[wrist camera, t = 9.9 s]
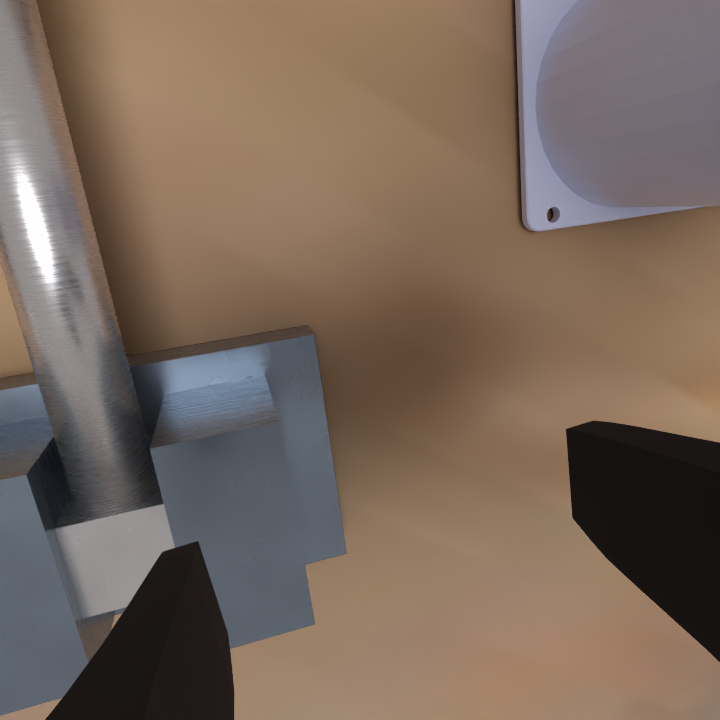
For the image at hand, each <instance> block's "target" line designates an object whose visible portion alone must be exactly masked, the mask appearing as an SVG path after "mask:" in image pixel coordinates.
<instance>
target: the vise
mask: <svg viewBox="0 0 720 720" xmlns="http://www.w3.org/2000/svg"><path fill="white" fill-rule="evenodd" d="M0 262H1V266H2V269H3V272H4V275H5V279H6V282H7V285H8V288H9V292H10V295H11V298H12V301H13V305H14V308H15V311H16V314H17V318H18V321H19V324H20V327H21V331H22V334H23V337H24V340H25V344H26V347H27V350H28V353H29V357H30V360H31V363H32V366H33V370H34V373H29V374H23V375H17V376H11V377H6V378H0V715H4V714H7V713H11V712H14V711H18V710H21V709H25V708H28V707H31V706H35V705H38V704H42V703H45V702H49V701H52V700H56V699H59V698H62V697H64V695H65V694H66V693H67V691H68V690H69V689H70V687H71V686H72V685H73V683H74V682H75V680H76V679H77V678H78V676H79V675H80V674H81V672H82V671H83V670H84V668H85V667H86V665H87V664H88V663H89V661H90V660H91V659H92V657H93V656H94V655H95V653H96V652H97V650H98V649H99V648H100V646H101V645H102V644H103V642H104V641H105V639H106V638H107V636H108V635H109V633H110V632H111V628H112V624H113V619H114V615H117V614H121V613H123V612H124V611H125V609H126V607H127V606H128V604H129V603H130V601H131V600H132V598H133V597H134V595H135V593H136V592H137V590H138V589H139V587H140V585H141V584H142V582H143V581H144V579H145V578H146V576H147V574H148V573H149V571H150V570H151V568H152V567H153V565H154V564H155V562H156V561H157V559H158V558H159V556H160V555H161V553H162V552H163V551H166V550H170V549H173V548H176V547H179V546H183V545H186V544H189V543H193V542H196V541H198V542H199V545H200V548H201V551H202V554H203V557H204V560H205V563H206V566H207V570H208V573H209V576H210V579H211V582H212V585H213V588H214V591H215V594H216V598H217V601H218V604H219V607H220V610H221V613H222V616H223V619H224V622H225V626H226V629H227V632H228V636H229V645H230V649H231V648H235V647H238V646H242V645H245V644H249V643H252V642H255V641H259V640H262V639H266V638H269V637H273V636H276V635H280V634H283V633H286V632H290V631H293V630H297V629H300V628H304V627H307V626H311V625H314V624H315V620H314V615H313V609H312V603H311V598H310V592H309V586H308V580H307V575H306V569H305V564H309V563H313V562H317V561H320V560H324V559H328V558H332V557H335V556H339V555H343V554H347V553H346V546H345V539H344V532H343V526H342V519H341V512H340V505H339V499H338V492H337V485H336V478H335V472H334V465H333V458H332V451H331V445H330V438H329V431H328V424H327V418H326V411H325V404H324V397H323V391H322V384H321V377H320V370H319V364H318V357H317V350H316V343H315V337H314V334H313V333H312V331H311V330H310V329H309V328H308V327H307V325H306V326H300V327H294V328H289V329H283V330H277V331H271V332H266V333H260V334H254V335H248V336H242V337H237V338H231V339H225V340H219V341H214V342H208V343H202V344H196V345H190V346H185V347H179V348H173V349H167V350H162V351H156V352H150V353H144V354H138V355H133V356H126V352H125V348H124V344H123V340H122V336H121V332H120V328H119V325H118V321H117V317H116V313H115V309H114V305H113V301H112V297H111V293H110V289H109V285H108V281H107V277H106V273H105V269H104V265H103V262H102V258H101V254H100V250H99V246H98V242H97V238H96V234H95V230H94V226H93V222H92V218H91V214H90V210H89V206H88V202H87V199H86V195H85V191H84V187H83V183H82V179H81V175H80V171H79V167H78V163H77V159H76V155H75V151H74V147H73V143H72V139H71V135H70V132H69V128H68V124H67V120H66V116H65V112H64V108H63V104H62V100H61V96H60V92H59V88H58V84H57V80H56V76H55V72H54V69H53V65H52V61H51V57H50V53H49V49H48V45H47V41H46V37H45V33H44V29H43V25H42V21H41V17H40V13H39V9H38V5H37V2H36V0H0Z"/></svg>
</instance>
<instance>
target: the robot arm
mask: <svg viewBox="0 0 720 720" xmlns="http://www.w3.org/2000/svg"><path fill="white" fill-rule="evenodd" d="M515 10H516V41H517V72H518V104H519V135H520V166H521V197H522V220H523V224H524V226H525V227H526V228H527V229H528V230H530V231H546V230H553V229H559V228H566V227H573V226H579V225H586V224H593V223H599V222H606V221H613V220H619V219H626V218H633V217H639V216H646V215H653V214H659V213H666V212H673V211H679V210H686V209H692V208H699V207H706V206H720V0H515ZM550 208H551V209H552V210H553V213H554V214H553V218H552V220H551V221H548V220H547V211H548V210H549V209H550ZM566 435H567V448H568V462H569V475H570V489H571V503H572V516H573V519H574V520H575V521H576V522H577V524H578V525H579V526H580V527H581V529H582V530H583V531H584V532H585V534H586V535H587V536H588V537H589V539H590V540H591V541H592V542H593V543H594V544H595V545H596V547H597V548H598V549H599V550H600V551H601V552H602V553H603V555H604V556H605V557H606V558H607V559H608V560H609V561H610V562H611V563H612V564H613V565H614V566H615V567H616V568H618V569H619V570H620V571H621V572H622V573H623V574H624V575H625V576H626V577H627V578H628V579H629V580H631V581H632V582H633V583H634V584H635V585H636V586H637V587H638V588H639V589H640V590H641V591H643V592H644V593H645V594H646V595H647V596H648V597H649V598H650V599H651V600H653V601H654V602H655V603H656V604H657V605H658V606H659V607H660V608H661V609H663V610H664V611H665V612H666V613H667V614H668V615H669V616H670V617H671V618H672V619H674V620H675V621H676V622H677V623H678V624H679V625H680V626H681V627H682V628H684V629H685V630H686V631H687V632H688V633H689V634H690V635H691V636H692V637H693V638H695V639H696V640H697V641H698V642H699V643H700V644H701V645H702V646H703V647H705V648H706V649H707V650H708V651H709V652H710V653H711V654H712V655H713V656H714V657H715V658H716V659H717V660H718V661H719V662H720V443H718V442H713V441H708V440H703V439H697V438H692V437H687V436H682V435H677V434H672V433H667V432H662V431H657V430H651V429H646V428H641V427H636V426H630V425H624V424H618V423H611V422H602V421H591V422H587V423H584V424H581V425H578V426H574V427H571V428H568V429H566ZM45 720H234V685H233V674H232V664H231V654H230V645H229V636H228V632H227V629H226V626H225V622H224V619H223V616H222V613H221V610H220V607H219V604H218V601H217V598H216V594H215V591H214V588H213V585H212V582H211V579H210V576H209V573H208V570H207V566H206V563H205V560H204V557H203V554H202V551H201V548H200V545H199V542H198V541H196V542H193V543H189V544H186V545H183V546H179V547H176V548H173V549H170V550H166V551H163V552H162V553H161V555H160V556H159V558H158V559H157V561H156V562H155V564H154V565H153V567H152V568H151V570H150V571H149V573H148V574H147V576H146V578H145V579H144V581H143V582H142V584H141V585H140V587H139V589H138V590H137V592H136V593H135V595H134V597H133V598H132V600H131V601H130V603H129V604H128V606H127V607H126V609H125V611H124V612H123V614H122V615H121V617H120V618H119V620H118V621H117V623H116V624H115V626H114V627H113V629H112V630H111V632H110V633H109V635H108V636H107V638H106V639H105V641H104V642H103V644H102V645H101V646H100V648H99V649H98V650H97V652H96V653H95V655H94V656H93V657H92V659H91V660H90V661H89V663H88V664H87V665H86V667H85V668H84V670H83V671H82V672H81V674H80V675H79V676H78V678H77V679H76V680H75V682H74V683H73V685H72V686H71V687H70V689H69V690H68V691H67V693H66V694H65V695H64V697H63V698H62V699H61V701H60V702H59V703H58V704H57V706H56V707H55V708H54V710H53V711H52V712H51V713H50V715H49V716H48V717H47V718H46V719H45Z"/></svg>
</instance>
